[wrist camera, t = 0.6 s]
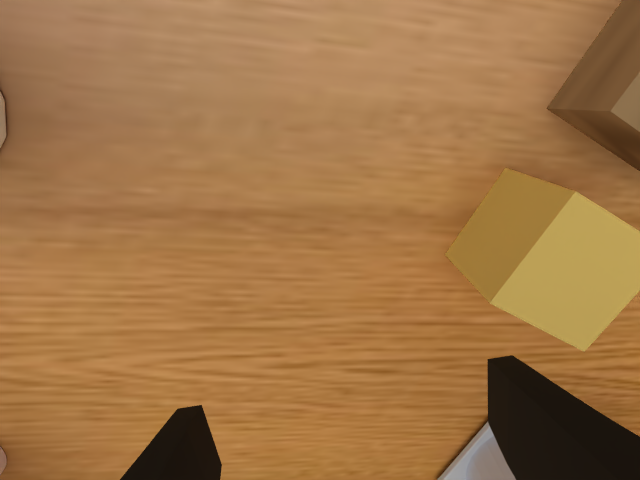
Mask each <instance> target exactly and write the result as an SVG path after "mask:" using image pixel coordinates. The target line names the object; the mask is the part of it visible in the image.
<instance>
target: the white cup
mask: <svg viewBox="0 0 640 480" xmlns="http://www.w3.org/2000/svg"><path fill="white" fill-rule="evenodd" d="M5 138H6V117H5V100H4V98H3V96H2V94H1V92H0V148H1V146H2V144H3V142H4V140H5Z"/></svg>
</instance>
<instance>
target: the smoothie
mask: <svg viewBox="0 0 640 480" xmlns="http://www.w3.org/2000/svg"><path fill="white" fill-rule="evenodd" d="M6 463H7V459H6V455H5V453H4V451H3V449H2V448H1V447H0V475H1V473H2V472H3V470H4V469H5V467H6Z"/></svg>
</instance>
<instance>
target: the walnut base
mask: <svg viewBox="0 0 640 480" xmlns="http://www.w3.org/2000/svg"><path fill="white" fill-rule="evenodd" d="M547 109H548V110H550V111H551V112H553V113H554V114H556V115H557V116H559V117H560V118H562V119H563V120H565V121H566V122H568V123H569V124H571V125H572V126H574V127H575V128H577V129H578V130H580V131H581V132H582V133H584V134H585V135H587V136H588V137H590V138H591V139H593V140H594V141H596V142H597V143H599V144H600V145H602V146H603V147H605V148H606V149H608V150H609V151H611V152H612V153H614V154H615V155H617V156H618V157H620V158H621V159H623V160H624V161H626V162H627V163H629V164H630V165H632V166H633V167H634V168H636V169H637V170H639V171H640V0H622V2H621V3H620V4H619V6H618V7H617V9H616V10H615V12H614V13H613V14H612V16H611V17H610V19H609V20H608V22H607V23H606V24H605V26H604V27H603V29H602V30H601V32H600V33H599V34H598V36H597V37H596V39H595V40H594V42H593V43H592V45H591V46H590V47H589V49H588V50H587V52H586V53H585V55H584V56H583V57H582V59H581V60H580V62H579V63H578V65H577V66H576V67H575V69H574V70H573V72H572V73H571V75H570V76H569V77H568V79H567V80H566V82H565V83H564V85H563V86H562V87H561V89H560V90H559V92H558V93H557V95H556V96H555V97H554V99H553V100H552V102H551V103H550V105H549V106H548V108H547Z"/></svg>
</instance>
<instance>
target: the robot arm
mask: <svg viewBox="0 0 640 480" xmlns="http://www.w3.org/2000/svg"><path fill="white" fill-rule="evenodd" d="M221 466H222V464H221V461H220V458H219V455H218V452H217V449H216V446H215V443H214V441H213V438H212V435H211V432H210V429H209V426H208V423H207V420H206V417H205V414H204V411H203V408H202V405H199V406H192V407H186V408H180V409H177V410H176V411H175V413H174V414H173V415H172V416H171V417H170V419H169V420H168V421H167V422H166V424H165V425H164V426H163V427H162V429H161V430H160V431H159V432H158V434H157V435H156V436H155V437H154V439H153V440H152V441H151V442H150V444H149V445H148V446H147V447H146V449H145V450H144V451H143V452H142V454H141V455H140V456H139V457H138V458H137V460H136V461H135V462H134V463H133V465H132V466H131V467H130V468H129V469H128V471H127V472H126V473H125V474H124V475H123V477H122V478H121V479H120V480H220V476H221ZM438 480H640V437H639V436H638V435H636V434H634V433H632V432H631V431H629V430H627V429H626V428H624V427H622V426H621V425H619V424H617V423H616V422H614V421H612V420H611V419H609V418H607V417H606V416H604V415H603V414H601V413H599V412H598V411H596V410H595V409H593V408H592V407H590V406H588V405H587V404H585V403H584V402H582V401H581V400H579V399H577V398H576V397H574V396H573V395H571V394H570V393H568V392H567V391H565V390H564V389H562V388H561V387H559V386H558V385H556V384H555V383H553V382H552V381H550V380H549V379H547V378H546V377H544V376H543V375H541V374H540V373H538V372H537V371H535V370H534V369H532V368H531V367H529V366H528V365H526V364H525V363H523V362H522V361H520V360H519V359H517V358H515V357H514V356H506V357H499V358H493V359H488V422H487V423H486V424H485V425H484V426H483V428H482V429H481V430H480V431H479V432H478V433H477V434H476V436H475V437H474V438H473V439H472V440H471V441H470V443H469V444H468V445H467V446H466V447H465V448H464V449H463V451H462V452H461V453H460V454H459V455H458V456H457V458H456V459H455V460H454V461H453V462H452V463H451V464H450V466H449V467H448V468H447V469H446V470H445V471H444V473H443V474H442V475H441V476H440V477H439V478H438Z"/></svg>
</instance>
